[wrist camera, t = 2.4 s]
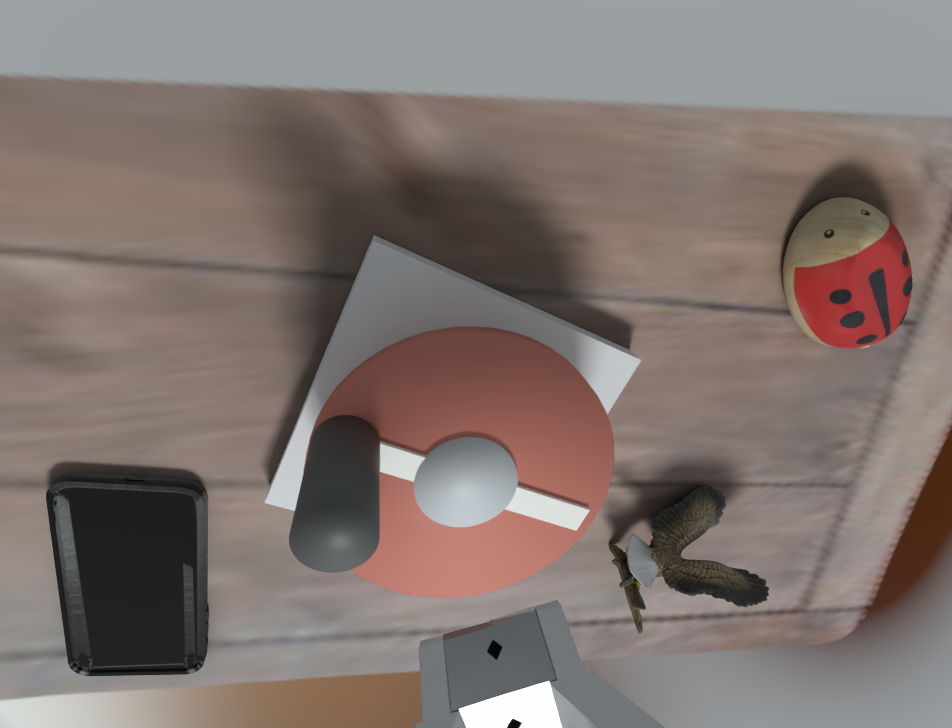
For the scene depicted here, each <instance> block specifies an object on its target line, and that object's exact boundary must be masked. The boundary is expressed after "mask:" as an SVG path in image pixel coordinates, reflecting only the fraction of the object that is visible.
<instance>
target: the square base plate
mask: <svg viewBox="0 0 952 728" xmlns="http://www.w3.org/2000/svg"><path fill="white" fill-rule="evenodd" d="M467 326H476V327H490V328H497V329H502V330H507V331H512V332H515V333H518V334H521V335H524V336H527V337H530V338H533V339H535V340H537V341H539V342H540V343H542V344H544V345H546V346H548V347H550V348H552V349H553V350H554V351H556V352H557V353H559V354H560V355H561V356H563V357H564V358H566V359H567V360H568V361H569V362H570V363H571V364H572V365H573V366H574V367H575V368H576V369H577V370H578V371H579V372H580V374H581V375H582V376H583V377H584V378H585V380H586V381H587V382H588V384H589V385H590V386H591V387H592V389H593V390H594V391H595V393H596V394H597V395H598V397H599V399H600V401H601V403H602V405H603V407H604V408H605V410H606V413H607V414H608V412H609V411H610V409H611V408H612V406H613V404H614V403H615V401H616V400H617V398H618V396H619V395H620V393H621V392H622V390H623V388H624V387H625V385H626V384H627V382H628V381H629V379H630V377H631V376H632V374H633V373H634V371H635V369H636V368H637V366H638V365H639V363H640V361H641V359H640V358H638V357H637V356H636V355H635V354H634V353H633V352H632V351H631V350H629V349H627V348H625V347H622V346H620V345H618V344H616V343H613V342H611V341H609V340H607V339H604V338H602V337H600V336H598V335H596V334H593V333H591V332H589V331H587V330H584V329H582V328H580V327H578V326H576V325H573V324H571V323H569V322H567V321H564V320H562V319H560V318H558V317H555V316H553V315H551V314H549V313H547V312H544V311H542V310H540V309H538V308H535V307H533V306H531V305H529V304H527V303H524V302H522V301H520V300H518V299H515V298H513V297H511V296H509V295H507V294H504V293H502V292H500V291H498V290H495V289H493V288H491V287H489V286H486V285H484V284H482V283H480V282H478V281H475V280H473V279H471V278H469V277H466V276H464V275H462V274H460V273H458V272H455V271H453V270H451V269H449V268H446V267H444V266H442V265H440V264H438V263H435V262H433V261H431V260H429V259H426V258H424V257H422V256H420V255H417V254H415V253H413V252H411V251H409V250H406V249H404V248H402V247H400V246H397V245H395V244H393V243H391V242H389V241H386V240H384V239H382V238H380V237H377V236H375V235H373V238H372V240H371V243H370V245H369V247H368V250H367V252H366V255H365V257H364V260H363V262H362V264H361V267H360V269H359V272H358V274H357V276H356V279H355V281H354V284H353V286H352V289H351V291H350V293H349V296H348V298H347V301H346V303H345V305H344V308H343V310H342V313H341V315H340V318H339V320H338V322H337V325H336V327H335V330H334V332H333V334H332V337H331V339H330V342H329V344H328V347H327V349H326V351H325V354H324V356H323V359H322V361H321V363H320V366H319V368H318V371H317V373H316V376H315V378H314V380H313V383H312V385H311V388H310V390H309V393H308V395H307V397H306V400H305V402H304V405H303V407H302V409H301V412H300V414H299V417H298V419H297V422H296V424H295V426H294V429H293V431H292V434H291V436H290V438H289V441H288V443H287V446H286V448H285V451H284V453H283V455H282V458H281V460H280V463H279V465H278V467H277V470H276V472H275V475H274V477H273V480H272V482H271V484H270V487H269V490H268V493H267V496H266V500H265V503H267V504H271V505H274V506H278V507H282V508H286V509H290V510H293V511H295V508H296V504H297V500H298V495H299V491H300V486H301V482H302V478H303V470H304V464H305V459H306V453H307V448H308V444H309V440H310V436H311V433H312V430H313V427H314V425H315V422H316V419H317V417H318V415H319V413H320V412H321V410H322V408H323V406H324V404H325V402H326V401H327V400H328V398H329V397H330V395H331V394H332V393H333V391H334V390H335V388H336V387H337V386H338V385H339V384H340V383H341V382H342V381H343V380H344V379H345V378H346V376H347V375H348V374H349V373H350V372H351V371H353V370H354V369H355V368H356V367H358V366H359V365H360V364H361V363H363V362H364V361H365V360H366V359H368V358H369V357H371V356H372V355H374V354H376V353H377V352H379V351H381V350H382V349H384V348H386V347H388V346H390V345H392V344H394V343H396V342H399V341H401V340H403V339H405V338H408V337H411V336H414V335H418V334H421V333H424V332H427V331H432V330H438V329H444V328H449V327H467Z"/></svg>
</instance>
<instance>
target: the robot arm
mask: <svg viewBox="0 0 952 728" xmlns="http://www.w3.org/2000/svg"><path fill="white" fill-rule="evenodd" d="M419 659H420V676H421V694H422V714H423V722H421V723H418V724H416V725H415V727H414V728H664V726H662V725H661V724H660V723H658V722H657V721H656V720H655V719H654V718H652V717H651V716H650V715H648V714H647V713H646V712H645V711H643V710H642V709H641V708H640V707H638V706H637V705H636V704H635V703H633V702H632V701H631V700H629V699H628V698H627V697H626V696H625V695H623V694H622V693H621V692H619V691H618V690H617V689H616V688H614V687H613V686H612V685H611V684H609V683H608V682H607V681H606V680H604V679H603V678H602V677H601V676H599V675H598V674H597V673H595V672H594V671H593V670H588V671H584V668H583V665H582V663H581V660H580V657H579V654H578V651H577V649H576V646H575V643H574V640H573V638H572V635H571V632H570V629H569V627H568V624H567V621H566V618H565V616H564V613H563V610H562V607H561V605H560V603H559V602H558V600H555V601H552V602H549V603H546V604H542V605H539V606H536V607H535V608H534V607H531V608H528V609H524V610H521V611H518V612H515V613H512V614H509V615H506V616H503V617H500V618H496V619H493V620H490V622H487V623H483V624H480V625H476V626H472V627H469V628H465V629H461V630H458V631H454V632H450V633H447V634H443V635H440V636H437V637H433V638H430V639H426V640H423V641H420V647H419Z"/></svg>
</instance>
